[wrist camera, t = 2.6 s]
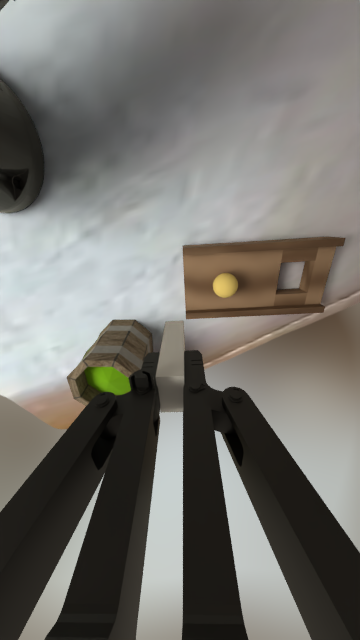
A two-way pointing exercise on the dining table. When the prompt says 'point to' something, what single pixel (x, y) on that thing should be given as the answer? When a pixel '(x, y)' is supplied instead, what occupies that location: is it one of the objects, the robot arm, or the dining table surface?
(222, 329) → the dining table surface
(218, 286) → the ball
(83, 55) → the dining table surface
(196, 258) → the lane board
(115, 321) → the mug
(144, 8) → the dining table surface
